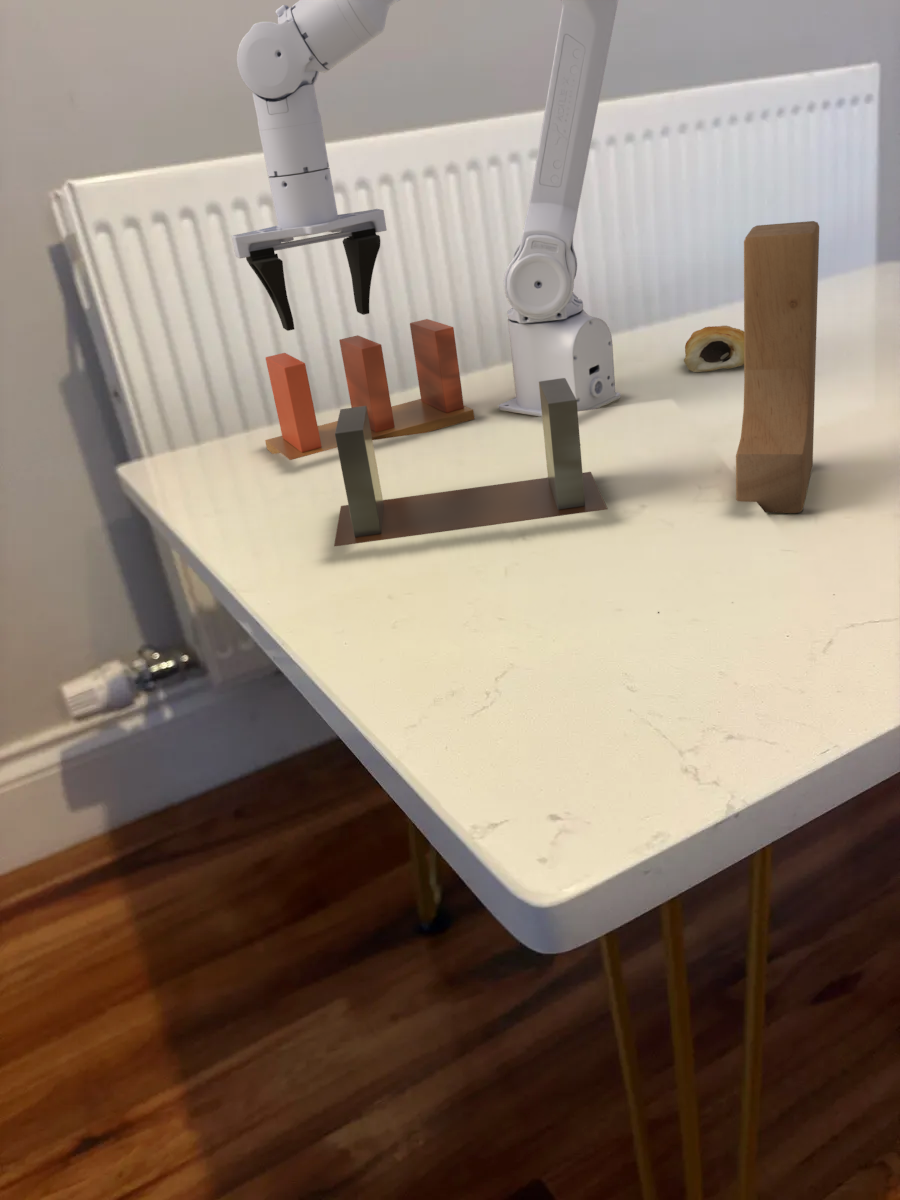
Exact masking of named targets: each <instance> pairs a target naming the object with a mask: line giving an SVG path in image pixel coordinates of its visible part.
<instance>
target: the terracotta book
mask: <svg viewBox="0 0 900 1200" xmlns="http://www.w3.org/2000/svg"><path fill="white" fill-rule="evenodd" d="M265 362H266V367H267V371H268V376H269V381H270V386H271V390H272V395H273V400H274V405H275V410H276V413H277V418H278V423H279V428H280V433H281V436H282V437H283V439H285V440H286V441H287V442H289V443H290V444H291V445H293V446H294V447H295V448H297V449H298V450H299V451H301V452H302V453H303V452H306V451H310V450H314V449H317V448H321V447H322V446H321V441H320V436H319V431H318V426H319V425H318V421H317V416H316V411H315V406H314V400H313V397H312V391H311V385H310V380H309V376H308V370H307V365H306V363H305V362H304V361H302V360H300V359H298V358H296V357H294V356H292V355H290V354H288V353H286V352H282V353H277V354H274V355H269V356H265Z"/></svg>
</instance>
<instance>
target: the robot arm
mask: <svg viewBox="0 0 900 1200" xmlns="http://www.w3.org/2000/svg"><path fill="white" fill-rule="evenodd" d="M399 1H400V0H298V1H296V2H295V3H294V4H292V5H290V6H289V5H288V4H282V5H281V6H280V7H278V8H277V9H276V10H275V14H276V16H277V22H274V21H259V22H256V23H254V24H252V26H251V28H250V29H249V30H248V32H246V34H244V35H243V37H242V39H241V41H240V42H239V45H238V48H237V53H236V54H237V55H236V64H237V65H236V66H237V70H238V73H239V76H240V78H241V80H242V81H243V83H244V84H245V86H246V87H247V88H248V89H249V90H250V91H251V92H252V93H251V95H252V100H253V103H254V108H255V109H254V110H255V114H256V119H257V128H258V132H259V133H258V134H259V138H260V142H261V148H262V154H263V159H264V163H265V168H266V173H267V177H268V182H269V188H270V193H271V199H272V203H273V208H274V213H275V219H276V223H277V225H275V226H274V225H273V226H269V227H264V228H262V229H255V230H252V231H247V232H243V233H237V234H232V235H231V236H230V237H231V241H232V246H233V251H234V256H235V257H236V258H237V259H246V262H247V263H248V265H249V266H250V268H251V269H252V271H253V272H254V274H255V275H256V277H257V278H258V279H259V281H260V283H261V284H262V286H263V287H264V289H265V291H266V292H267V294H268V295H269V298H270V300H271V301H272V303H273V306H274V307H275V310H276V312H277V315H278V317H279V319H280V323H281V326H282V328H283V329H284V330H285V331H287V332H289V331H293V330H295V322H294V318H293V314H292V310H291V306H290V302H289V298H288V294H287V293H288V292H287V287H286V279H285V272H284V271H285V270H284V261H283V259H281V258H279V254H278V253H275V252H276V251H282V250H286V249H292V248H297V247H301V246H308V245H313V244H319V243H324V242H329V241H335V240H339V239H342V245H343V248H344V252H345V255H346V259H347V263H348V268H349V272H350V276H351V284H352V292H353V299H354V300H353V301H354V304H355V309H356V312H357V313H359V314H360V315H362V316H364V315H368V314H370V296H371V286H372V279H373V273H374V268H375V264H376V261H377V257H378V254H379V251H380V248H381V236H380V235H379V234H377V233H381V232H386V231H387V224H386V223H387V222H386V218H385V217H386V216H385V211H384V209H381V208H373V209H368V210H362V211H355V212H348V213H340V214H338V210H337V209H338V208H337V203H336V197H335V192H334V191H335V190H334V186H333V180H332V174H331V169H330V162H329V157H328V152H327V146H326V141H325V135H324V128H323V123H322V116H321V113H320V111H319V105H318V101H317V100H318V99H317V94H316V87H315V84H316V82H317V80H318V78H319V74H320V73H323V74H325V73H328V72H329V71H330V70H331V69H333V68H334V67H336V66H337V65H339V64H340V63H342V61H345V59H348V57H350V56H351V55H353V54H354V53H356V52H358V50H360V49H361V48H363V47H364V46H366V45H367V44H369V43H370V42H371V41H373V40H374V39H376V38H377V37H378V36H380V35H381V34H383V32H384V31H385V27H386V22H387V18H388V17H387V16H388V13H389V10H390V8H391V7H392V6H394V5H395V4H396V3H398V2H399ZM560 1H561V12H560V18H559V25H558V30H557V35H556V42H555V48H554V53H553V60H552V66H551V72H550V77H549V84H548V89H547V95H546V99H545V100H546V101H545V107H544V113H543V119H542V125H541V131H540V137H539V142H538V149H537V154H536V159H535V166H534V172H533V178H532V184H531V189H530V195H529V201H528V207H527V211H526V216H525V220H524V225H523V228H522V234H521V240H520V244H519V245H518V247H517V248H516V250H515V251H514V254H513V257H512V259H511V261H510V262H509V263H508V264H507V267H506V269H505V273H504V277H503V291H504V294H505V298H506V299H507V300H506V301H508V304H509V306H511V308H510V309H509V310H507V312H506V316H507V317H506V318H507V326H508V335H509V344H510V354H511V355H510V356H511V363H512V374H513V382H514V391H515V397H514V398H513V397H512V398H511V399H509V400H507V401H504V402H502V403H500V404H498V405H497V408H498V409H497V410H499V411H504V412H508V413H509V412H510V413H514V414H515V413H517V414H522V415H529V416H533V417H541V418H542V410H541V399H540V389H539V382H540V381H546V380H553V379H560V378H565V379H566V381H567V382H568V384H569V386H570V388H571V390H572V392H573V394H574V396H575V398H576V400H577V410H578V413H579V412H586V411H593V410H598V409H599V408H602V407H604V406H606V405H609V404H610V403H613V402H615V401H616V400H619V399H621V398H622V394H621V393H620V392H617V391H616V381H615V377H616V376H615V364H614V347H613V346H614V345H613V337H612V332H611V330H610V328H609V325H608V324H607V322H605V320H604V319H602V318H599V317H596V316H593V315H590V314H588V312H586V311H585V310H584V302H583V300H582V299H581V298H579V297H578V296H577V295H576V294H575V293H574V286H575V279H576V276H577V271H578V260H577V255H576V252H575V248H574V235H575V229H576V224H577V219H578V213H579V208H580V207H579V206H580V201H581V196H582V191H583V185H584V181H585V175H586V171H587V165H588V161H589V155H590V149H591V146H592V139H593V135H594V129H595V124H596V119H597V114H598V108H599V103H600V97H601V93H602V87H603V82H604V76H605V71H606V68H607V67H606V66H607V61H608V56H609V50H610V45H611V41H612V35H613V30H614V25H615V19H616V16H617V15H616V14H617V10H618V5H619V0H560ZM327 232H328V234H324V233H327ZM329 232H330V233H329ZM318 234H323V235H318ZM313 235H317V236H313ZM306 236H312V237H307V238H303V239H302V238H301V239H296V240H295V239H294V238H300V237H306Z"/></svg>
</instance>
